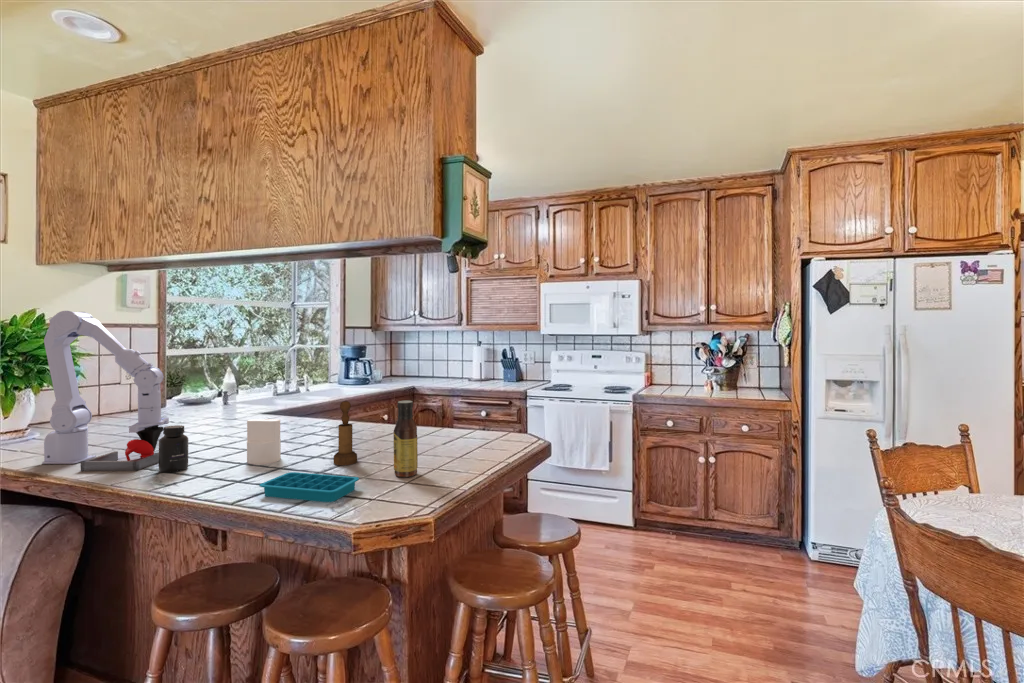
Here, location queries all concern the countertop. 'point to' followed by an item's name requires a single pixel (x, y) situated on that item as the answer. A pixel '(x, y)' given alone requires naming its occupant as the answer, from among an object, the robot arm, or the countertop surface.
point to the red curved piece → (139, 448)
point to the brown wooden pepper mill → (345, 439)
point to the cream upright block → (263, 441)
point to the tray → (117, 463)
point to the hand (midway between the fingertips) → (150, 451)
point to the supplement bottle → (173, 449)
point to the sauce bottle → (405, 441)
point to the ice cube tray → (309, 486)
